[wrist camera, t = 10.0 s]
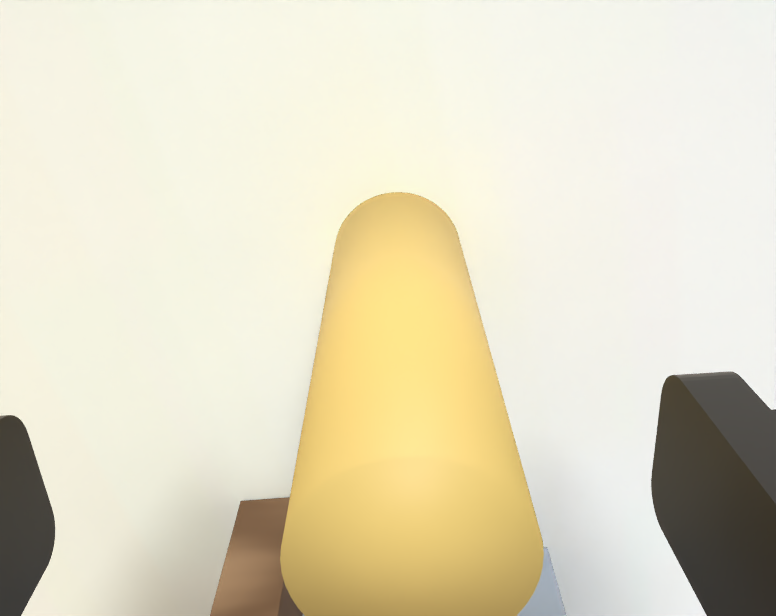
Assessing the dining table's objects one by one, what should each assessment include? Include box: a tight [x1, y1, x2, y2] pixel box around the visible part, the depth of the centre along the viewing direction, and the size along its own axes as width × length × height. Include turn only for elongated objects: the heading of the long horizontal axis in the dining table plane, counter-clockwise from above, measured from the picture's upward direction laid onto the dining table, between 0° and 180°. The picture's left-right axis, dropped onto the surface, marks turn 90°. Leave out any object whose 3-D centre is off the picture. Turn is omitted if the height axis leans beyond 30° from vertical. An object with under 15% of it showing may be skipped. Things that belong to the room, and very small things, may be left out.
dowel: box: [280, 192, 544, 616], centre depth 13 cm, size 3×3×10 cm
